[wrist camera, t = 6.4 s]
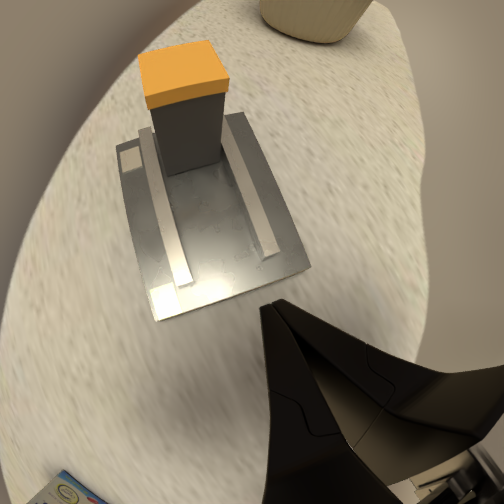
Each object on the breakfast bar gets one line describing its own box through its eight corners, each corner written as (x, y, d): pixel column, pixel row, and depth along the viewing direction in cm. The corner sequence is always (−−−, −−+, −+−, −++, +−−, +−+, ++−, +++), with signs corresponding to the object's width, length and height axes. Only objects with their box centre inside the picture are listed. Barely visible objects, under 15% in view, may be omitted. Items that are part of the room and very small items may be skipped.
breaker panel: (302, 272, 20) (319, 262, 17) (161, 320, 18) (150, 321, 15) (240, 125, 23) (245, 100, 19) (121, 158, 20) (110, 135, 17)
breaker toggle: (221, 162, 19) (229, 77, 11) (166, 178, 18) (144, 96, 10) (205, 122, 20) (208, 39, 12) (155, 135, 19) (137, 54, 11)
